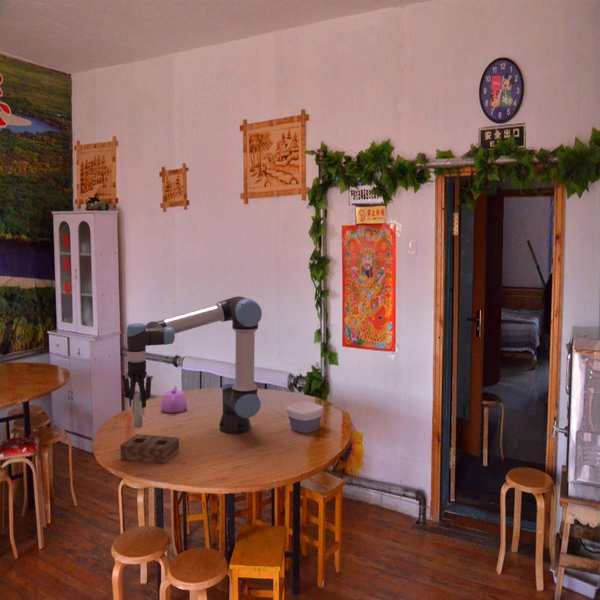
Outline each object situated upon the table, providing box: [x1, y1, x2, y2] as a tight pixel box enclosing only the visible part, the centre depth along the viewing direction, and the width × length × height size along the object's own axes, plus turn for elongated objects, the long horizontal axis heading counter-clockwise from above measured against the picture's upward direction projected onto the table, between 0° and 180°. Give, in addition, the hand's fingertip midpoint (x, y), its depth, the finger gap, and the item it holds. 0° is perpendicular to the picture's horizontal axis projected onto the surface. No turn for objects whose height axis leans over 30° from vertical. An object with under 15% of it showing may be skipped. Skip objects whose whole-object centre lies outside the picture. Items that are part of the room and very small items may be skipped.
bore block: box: [119, 433, 180, 465], centre depth 253 cm, size 20×14×6 cm
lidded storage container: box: [286, 401, 324, 434], centre depth 286 cm, size 15×15×11 cm
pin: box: [133, 393, 143, 429], centre depth 252 cm, size 3×3×14 cm
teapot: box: [160, 384, 188, 414], centre depth 315 cm, size 13×20×11 cm
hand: (137, 414), depth 252 cm, fingers closed on pin, 3 cm apart
